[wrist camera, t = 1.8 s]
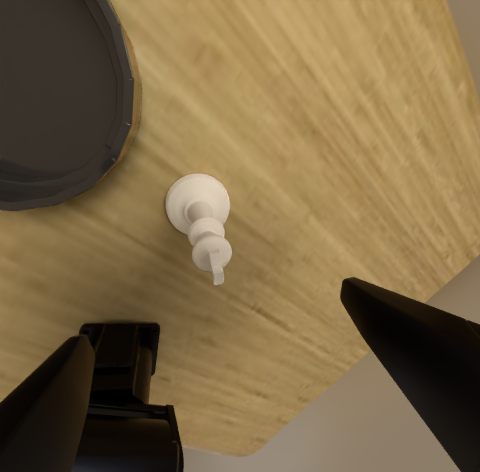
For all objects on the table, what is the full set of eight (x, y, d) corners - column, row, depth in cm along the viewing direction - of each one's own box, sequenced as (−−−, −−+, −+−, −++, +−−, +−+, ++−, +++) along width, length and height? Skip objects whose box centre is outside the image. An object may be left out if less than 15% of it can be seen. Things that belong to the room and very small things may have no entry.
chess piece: (172, 238, 20) (171, 332, 11) (159, 177, 18) (145, 235, 9) (231, 228, 21) (274, 308, 12) (226, 169, 19) (272, 214, 10)
